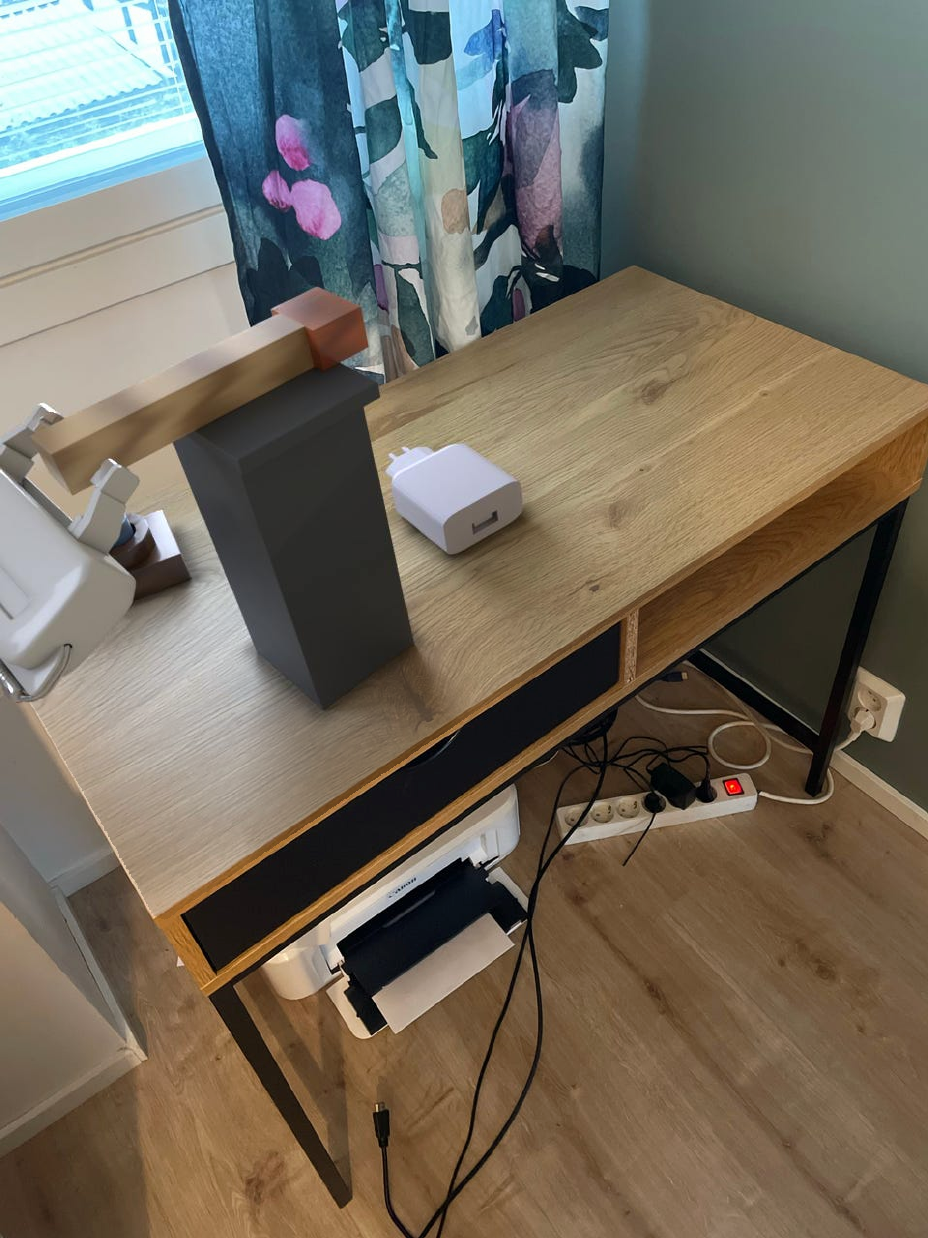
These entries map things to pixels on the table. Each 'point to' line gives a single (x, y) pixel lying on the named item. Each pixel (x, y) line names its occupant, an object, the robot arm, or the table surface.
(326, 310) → the stick
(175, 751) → the table surface
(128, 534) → the plunger
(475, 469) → the charger
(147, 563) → the button base
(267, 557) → the stand
